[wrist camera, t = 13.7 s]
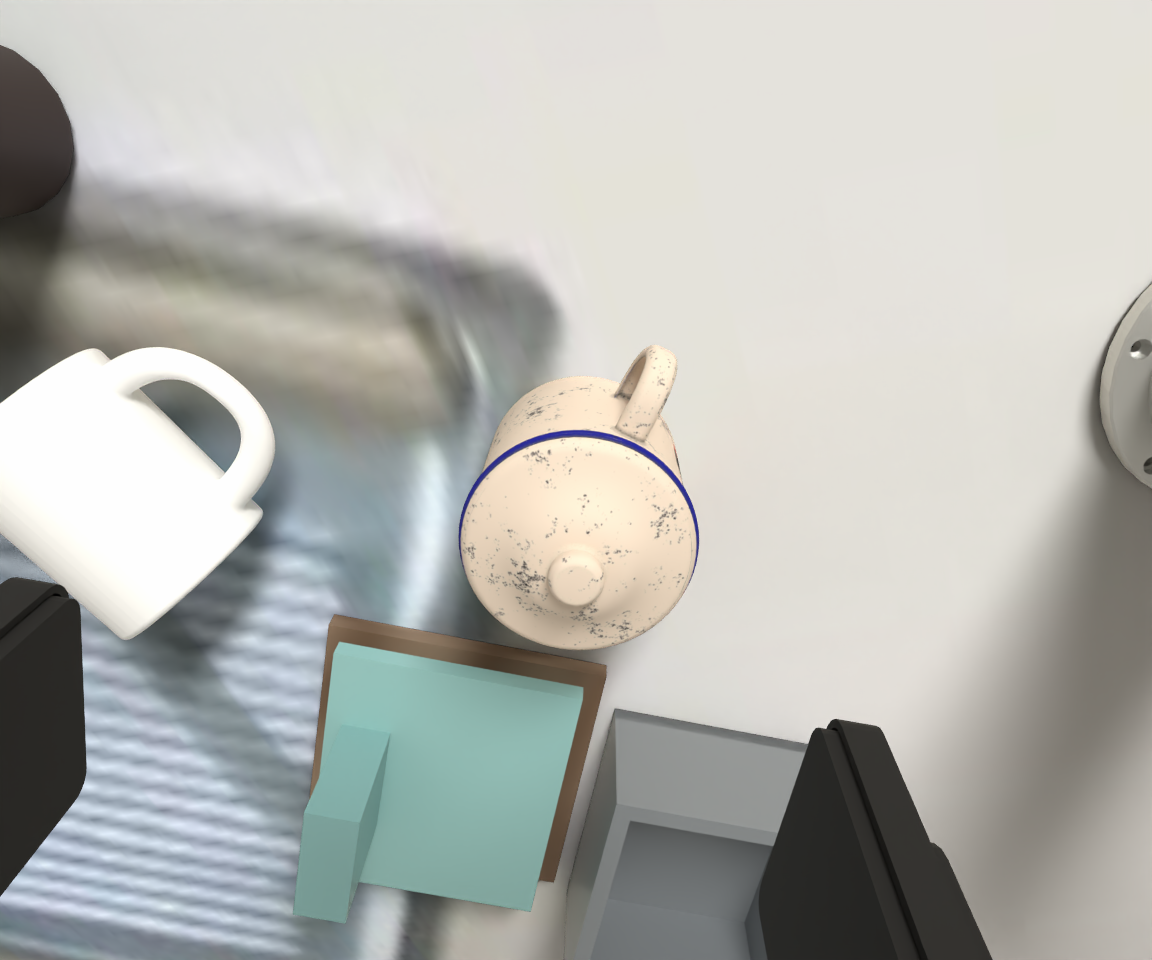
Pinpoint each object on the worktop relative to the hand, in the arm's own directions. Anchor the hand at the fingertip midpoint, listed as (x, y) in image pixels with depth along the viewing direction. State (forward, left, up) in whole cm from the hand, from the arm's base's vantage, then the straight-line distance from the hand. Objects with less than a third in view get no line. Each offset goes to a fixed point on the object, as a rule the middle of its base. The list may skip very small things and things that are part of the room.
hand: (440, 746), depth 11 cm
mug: (+16, +10, -30) cm, 36 cm away
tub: (-13, +27, -30) cm, 42 cm away
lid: (+1, +25, -29) cm, 38 cm away
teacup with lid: (-3, +6, -30) cm, 31 cm away
